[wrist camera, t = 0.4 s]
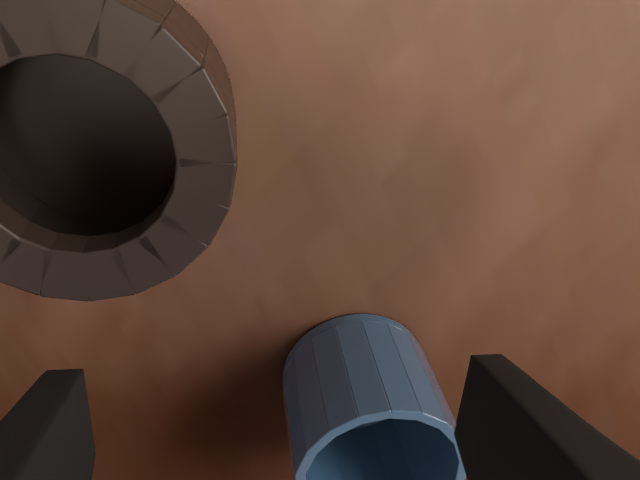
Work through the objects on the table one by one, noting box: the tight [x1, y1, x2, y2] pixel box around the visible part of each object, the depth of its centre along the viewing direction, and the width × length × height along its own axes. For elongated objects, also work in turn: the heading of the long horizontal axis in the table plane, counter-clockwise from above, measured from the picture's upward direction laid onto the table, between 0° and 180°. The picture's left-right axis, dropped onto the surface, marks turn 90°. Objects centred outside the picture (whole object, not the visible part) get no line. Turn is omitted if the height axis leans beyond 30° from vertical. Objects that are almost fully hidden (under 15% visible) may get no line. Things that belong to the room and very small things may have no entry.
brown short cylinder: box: [0, 0, 237, 301], centre depth 16 cm, size 8×8×4 cm
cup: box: [282, 314, 466, 480], centre depth 22 cm, size 6×6×5 cm
